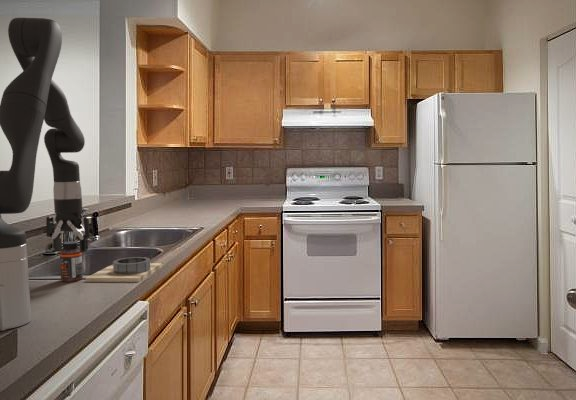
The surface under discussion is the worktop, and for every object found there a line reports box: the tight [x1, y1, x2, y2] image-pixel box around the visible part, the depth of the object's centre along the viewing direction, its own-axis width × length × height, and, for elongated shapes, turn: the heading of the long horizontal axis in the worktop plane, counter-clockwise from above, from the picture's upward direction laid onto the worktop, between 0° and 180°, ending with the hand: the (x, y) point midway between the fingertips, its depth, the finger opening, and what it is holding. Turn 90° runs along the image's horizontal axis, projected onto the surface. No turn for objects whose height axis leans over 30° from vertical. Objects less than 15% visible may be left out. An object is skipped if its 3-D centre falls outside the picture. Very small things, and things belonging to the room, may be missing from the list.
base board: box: [85, 262, 163, 283], centre depth 155 cm, size 20×16×1 cm
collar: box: [112, 256, 151, 274], centre depth 155 cm, size 11×11×3 cm
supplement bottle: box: [59, 240, 84, 283], centre depth 148 cm, size 6×6×11 cm
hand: (71, 251), depth 148 cm, fingers open, 8 cm apart
